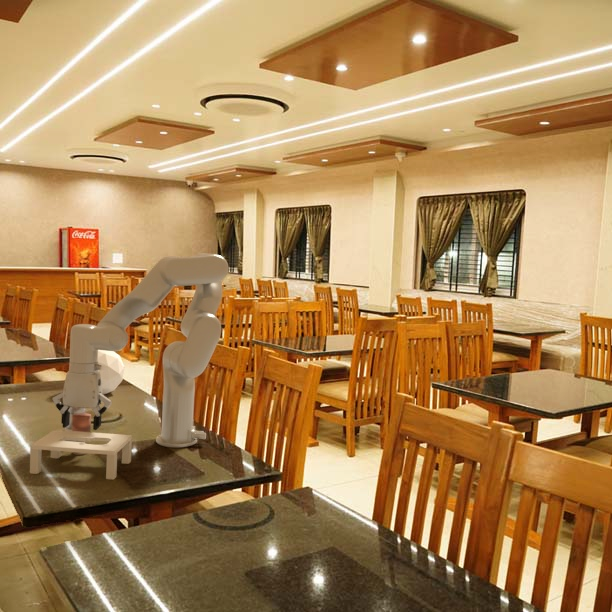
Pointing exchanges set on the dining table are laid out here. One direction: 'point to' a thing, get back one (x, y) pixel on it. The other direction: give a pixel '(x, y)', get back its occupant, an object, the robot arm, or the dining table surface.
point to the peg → (81, 425)
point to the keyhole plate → (82, 448)
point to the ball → (110, 370)
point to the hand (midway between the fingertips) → (81, 427)
